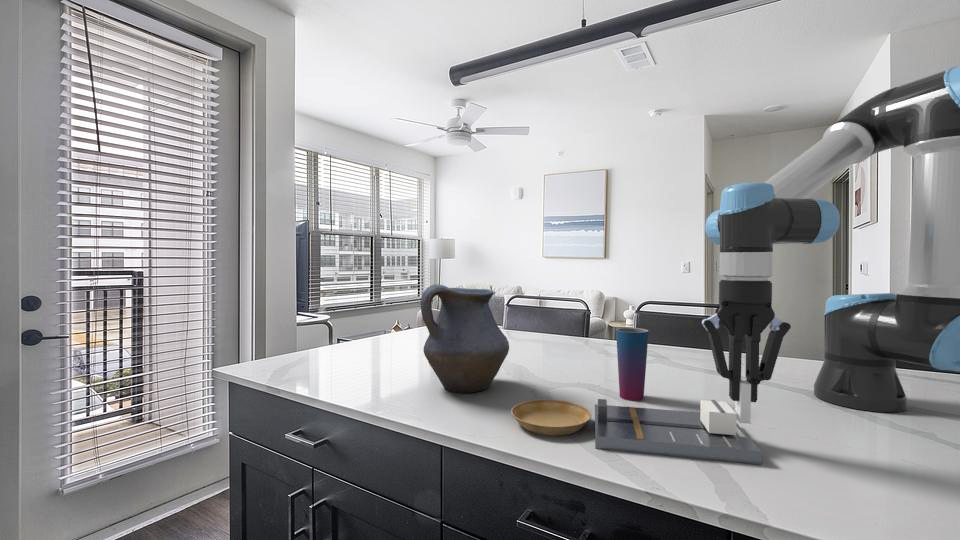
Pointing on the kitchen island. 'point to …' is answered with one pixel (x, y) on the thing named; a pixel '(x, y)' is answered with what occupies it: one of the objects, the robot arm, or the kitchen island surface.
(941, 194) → the robot arm
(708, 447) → the console
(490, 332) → the pitcher
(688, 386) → the kitchen island surface
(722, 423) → the fader
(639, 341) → the cup
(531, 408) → the plant saucer
